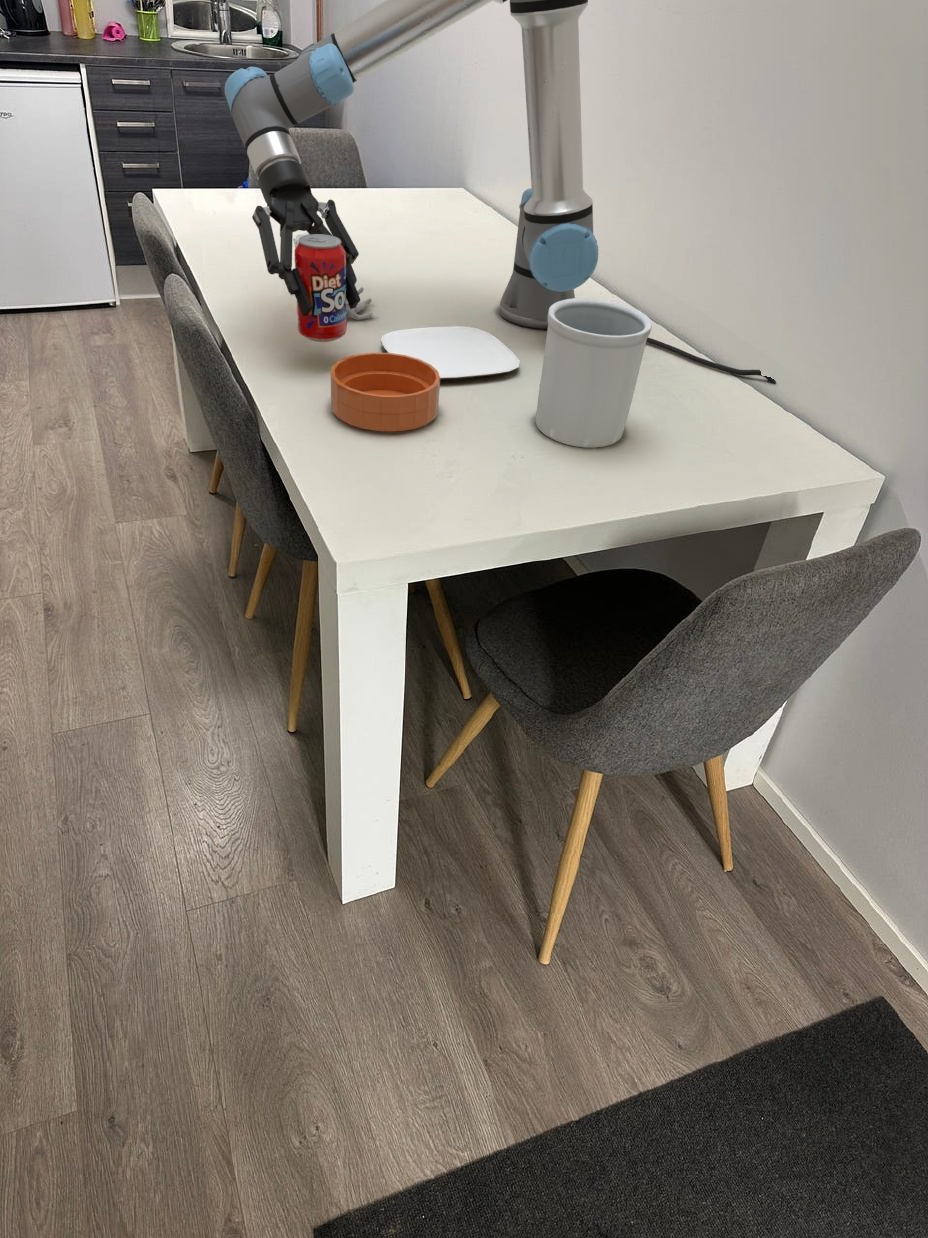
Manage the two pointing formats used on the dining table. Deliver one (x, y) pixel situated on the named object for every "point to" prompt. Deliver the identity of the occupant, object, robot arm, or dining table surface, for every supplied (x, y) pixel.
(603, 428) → the utensil holder
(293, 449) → the dining table surface
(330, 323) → the soda can
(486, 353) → the plate
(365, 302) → the soldier figure
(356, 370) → the bowl
